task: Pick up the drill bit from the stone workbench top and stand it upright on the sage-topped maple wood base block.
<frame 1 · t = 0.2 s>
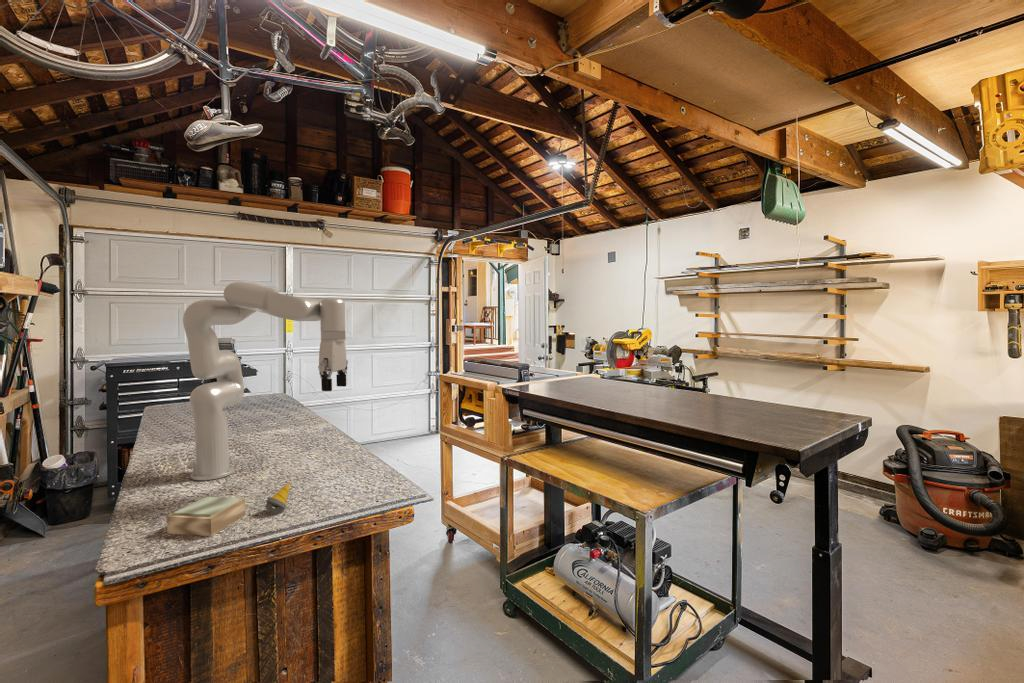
hand: (334, 388, 147), 31 cm above the workbench, fingers open, 9 cm apart
base block: (208, 523, 118), on the workbench
drill bit: (278, 510, 126), on the workbench
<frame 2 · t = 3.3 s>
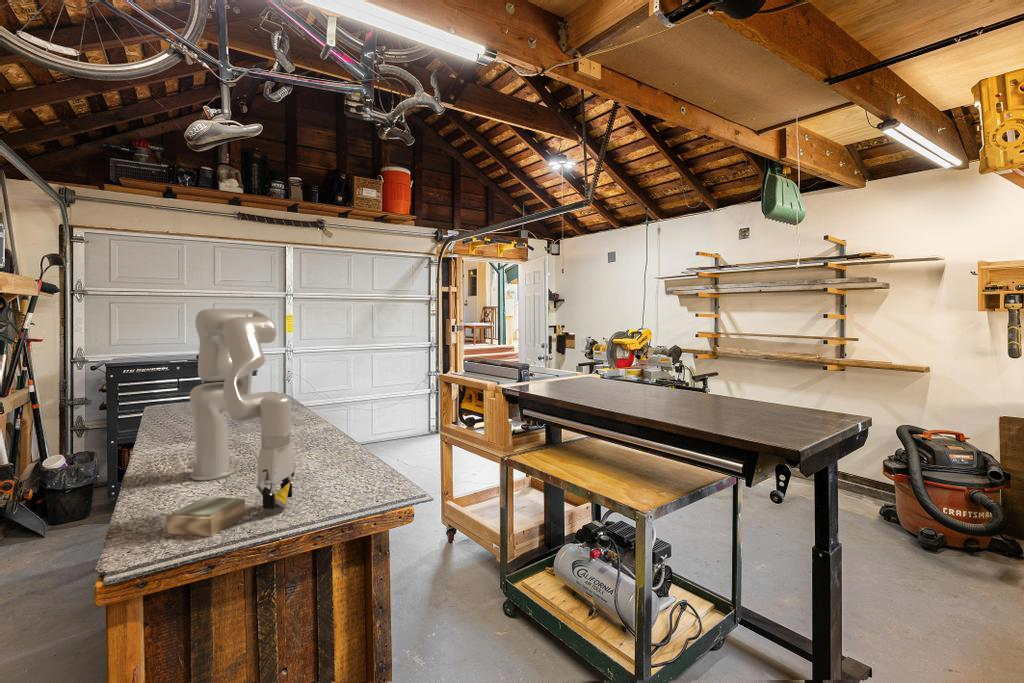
hand: (278, 502, 126), 2 cm above the workbench, fingers open, 7 cm apart
drill bit: (278, 510, 126), on the workbench, touching gripper
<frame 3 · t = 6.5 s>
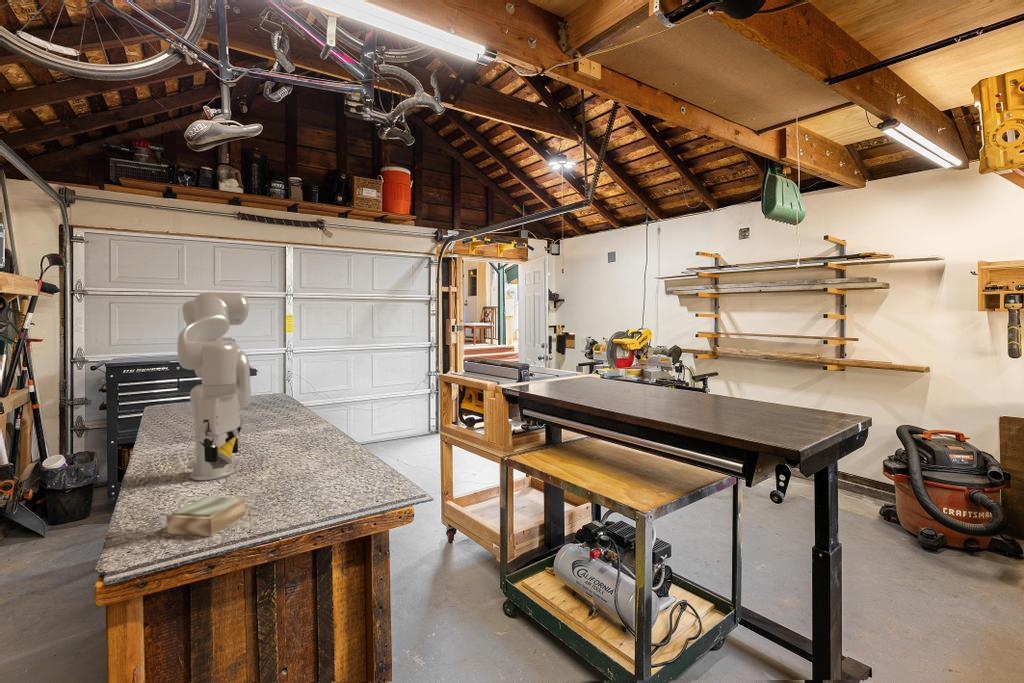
hand: (222, 456, 119), 17 cm above the workbench, fingers closed on drill bit, 6 cm apart
drill bit: (222, 465, 119), point 15 cm above the workbench, touching gripper
when the fingers open (9 cm above the workbench, at t = 9.5 s): drill bit drops 1 cm, resting on base block.
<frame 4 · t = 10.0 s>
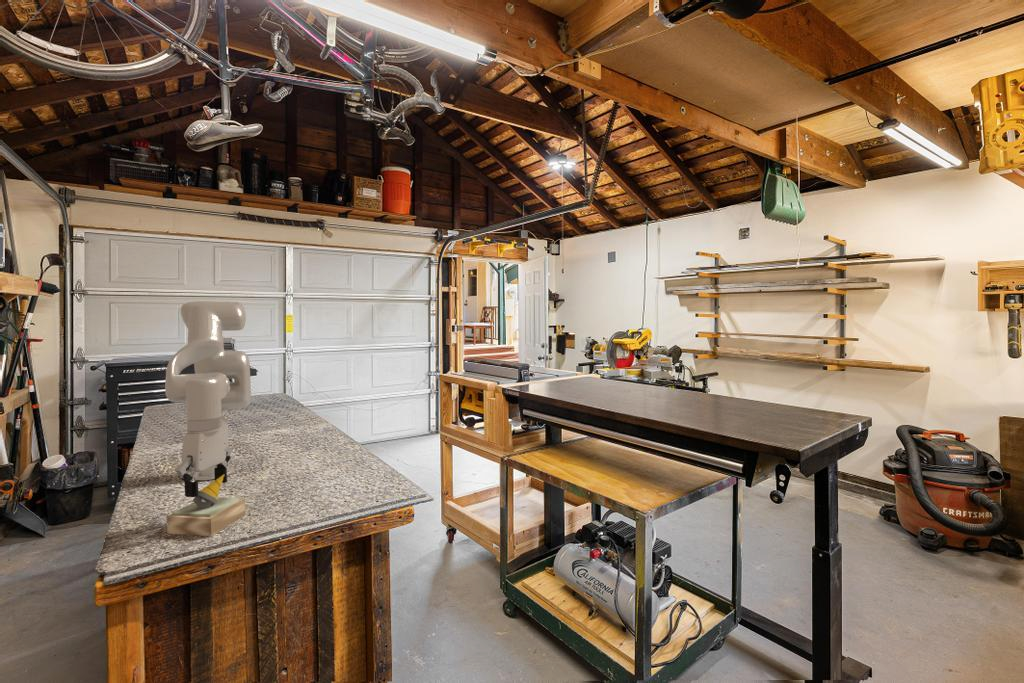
hand: (206, 489, 117), 9 cm above the workbench, fingers open, 9 cm apart
drill bit: (209, 504, 118), point 5 cm above the workbench, touching base block
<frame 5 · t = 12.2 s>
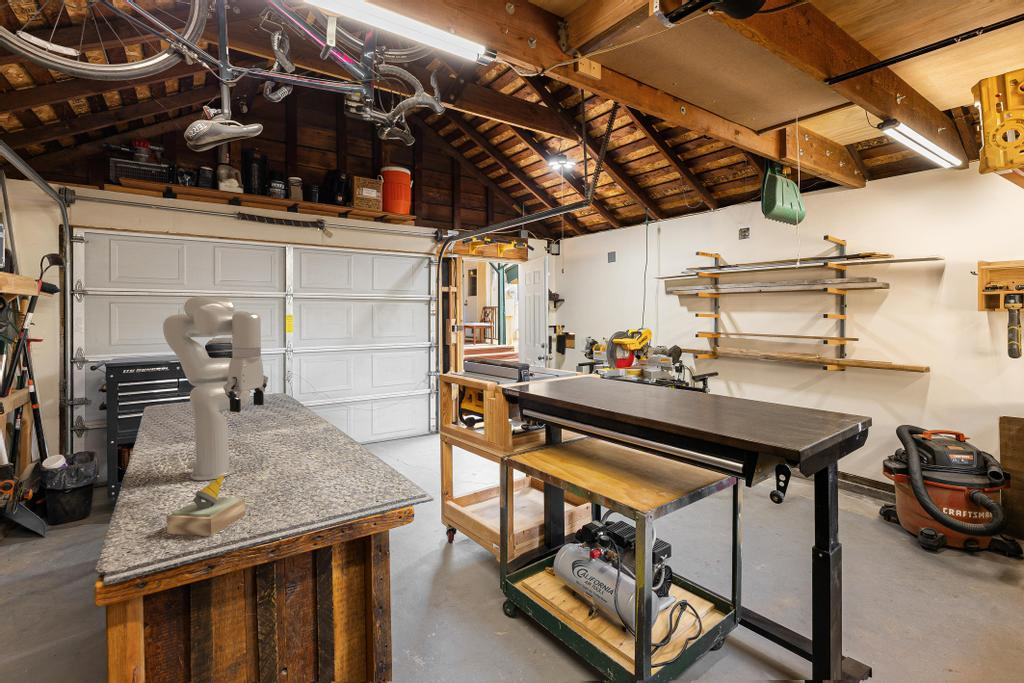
hand: (247, 408, 139), 26 cm above the workbench, fingers open, 9 cm apart
nothing on the workbench moved.
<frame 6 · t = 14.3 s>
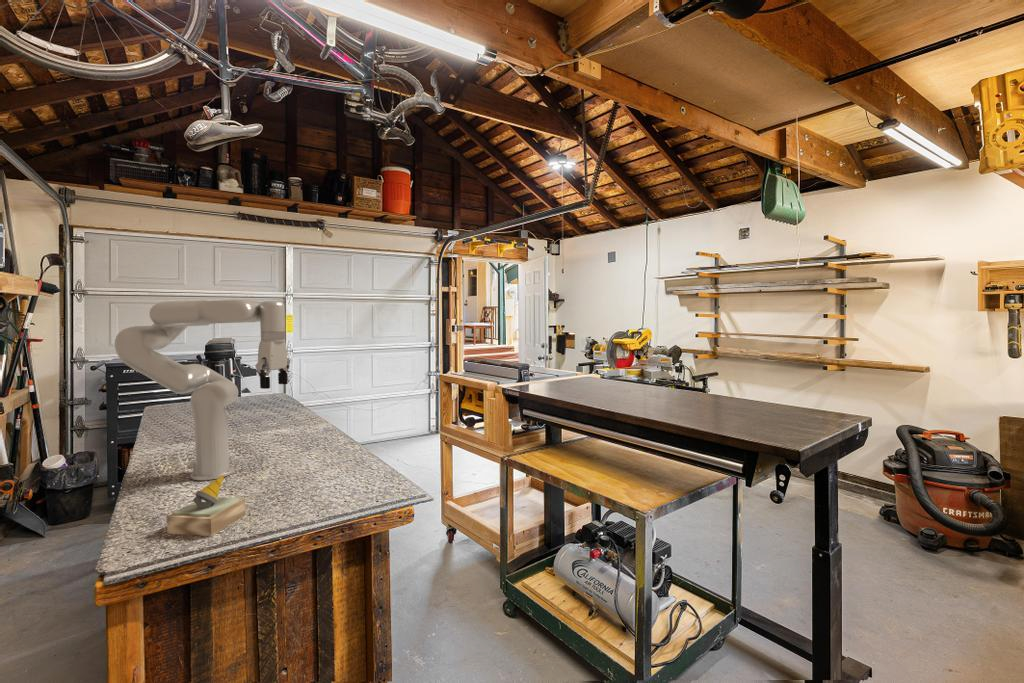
hand: (274, 386, 156), 30 cm above the workbench, fingers open, 9 cm apart
nothing on the workbench moved.
at the end: drill bit inside the target area on the base block (0.6 cm from its centre), point 4.8 cm above the base block's base; drill bit tilted 0°; the gripper is holding nothing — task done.
